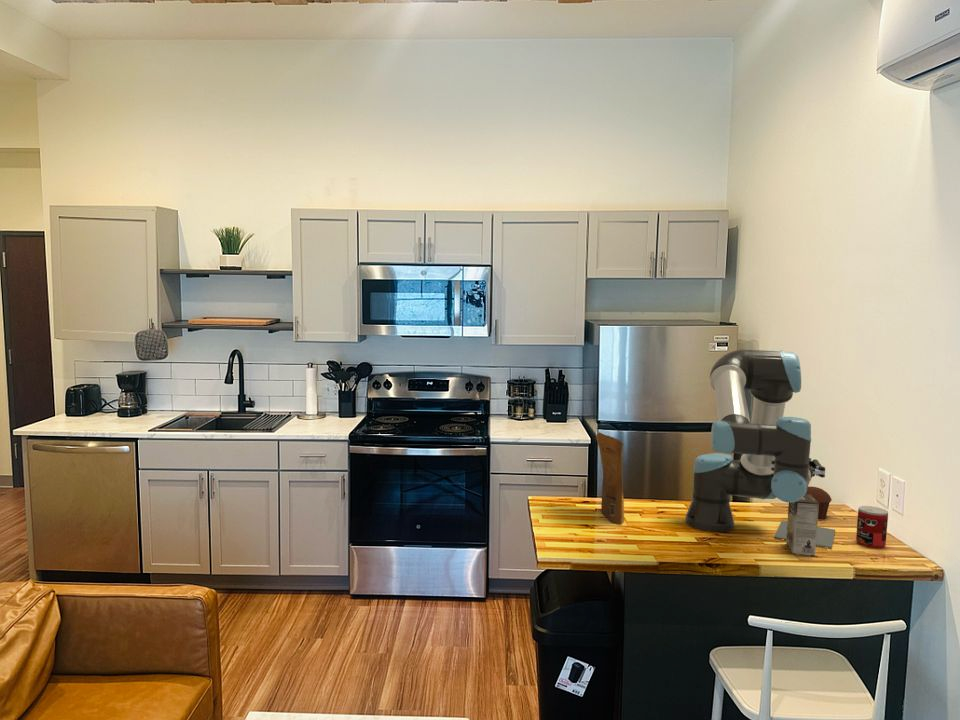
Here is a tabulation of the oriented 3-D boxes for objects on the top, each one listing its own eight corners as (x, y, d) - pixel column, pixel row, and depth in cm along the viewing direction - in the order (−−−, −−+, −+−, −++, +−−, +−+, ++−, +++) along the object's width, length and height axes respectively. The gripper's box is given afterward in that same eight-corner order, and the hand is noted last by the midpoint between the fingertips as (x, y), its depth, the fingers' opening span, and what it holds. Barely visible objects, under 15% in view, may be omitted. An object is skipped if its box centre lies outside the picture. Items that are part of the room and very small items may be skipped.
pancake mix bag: (609, 526, 216) (613, 441, 213) (591, 508, 235) (595, 430, 232) (629, 526, 217) (633, 441, 214) (610, 508, 236) (613, 430, 233)
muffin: (794, 518, 230) (796, 489, 229) (791, 509, 240) (793, 482, 239) (832, 523, 226) (835, 494, 225) (828, 513, 236) (830, 485, 235)
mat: (774, 538, 209) (774, 536, 209) (781, 522, 225) (781, 520, 225) (831, 549, 201) (831, 547, 201) (835, 531, 217) (835, 529, 217)
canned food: (850, 540, 209) (852, 505, 208) (874, 539, 210) (877, 505, 209) (866, 549, 202) (869, 513, 201) (891, 548, 202) (894, 513, 201)
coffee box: (785, 543, 205) (788, 492, 203) (807, 545, 203) (811, 493, 202) (792, 554, 196) (796, 500, 194) (816, 556, 195) (820, 502, 193)
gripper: (764, 485, 172) (776, 466, 192) (824, 494, 165) (830, 474, 185) (766, 456, 171) (778, 441, 191) (826, 464, 164) (832, 447, 184)
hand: (803, 457), depth 188 cm, fingers closed
